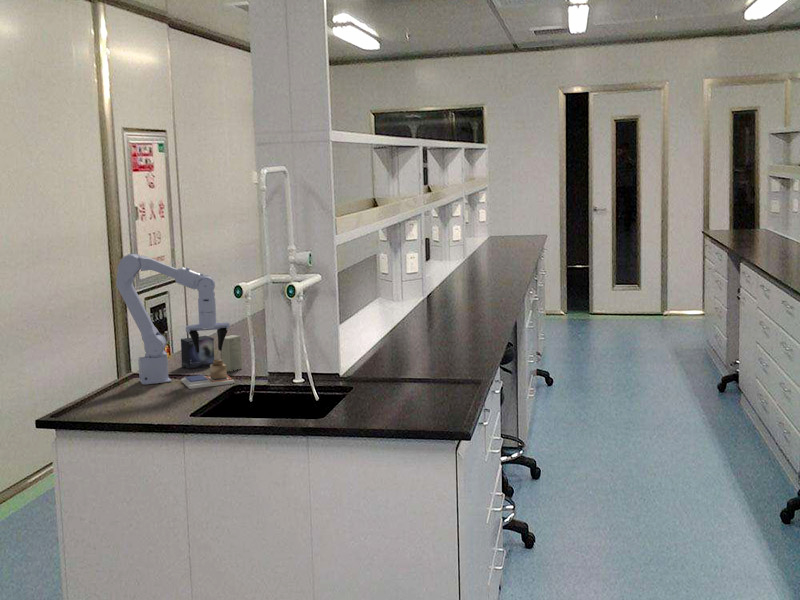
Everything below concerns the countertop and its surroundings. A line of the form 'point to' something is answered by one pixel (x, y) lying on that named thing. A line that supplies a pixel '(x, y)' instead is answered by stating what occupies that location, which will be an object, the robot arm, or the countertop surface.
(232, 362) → the skincare box
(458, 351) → the countertop surface
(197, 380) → the board
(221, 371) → the stamp
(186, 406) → the countertop surface
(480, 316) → the countertop surface
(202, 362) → the small box
